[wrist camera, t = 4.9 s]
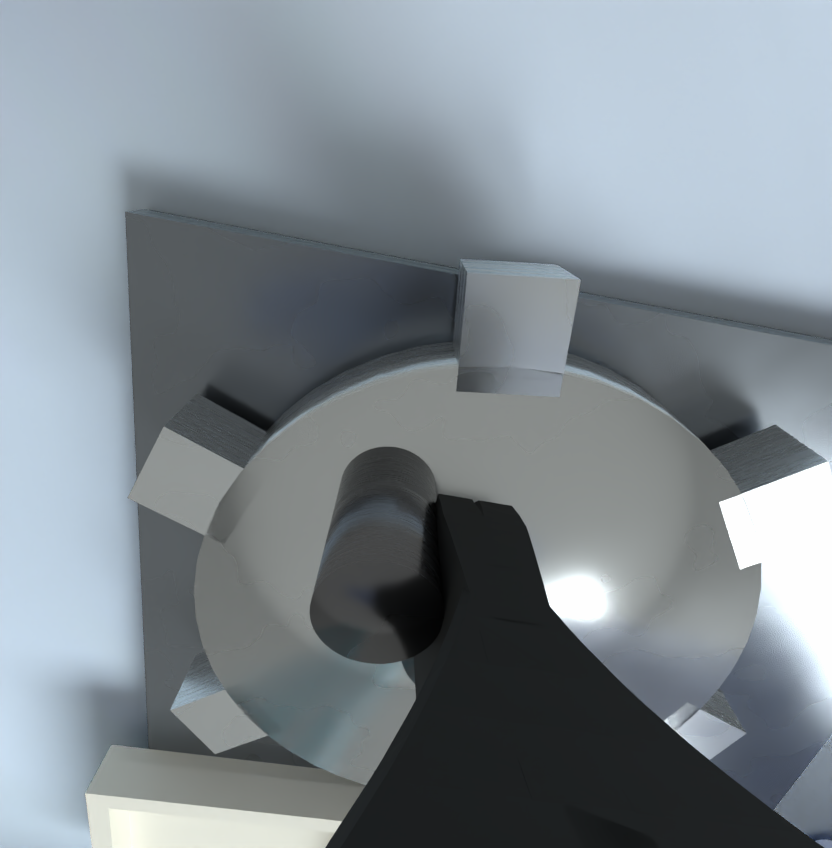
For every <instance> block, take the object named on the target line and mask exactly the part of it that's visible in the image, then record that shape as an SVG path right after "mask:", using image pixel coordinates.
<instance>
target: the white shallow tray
mask: <svg viewBox="0 0 832 848" xmlns="http://www.w3.org/2000/svg"><path fill="white" fill-rule="evenodd" d="M365 786H366V785H363V784H360V783H357V782H355V781H352V780H349V779H346V778H343V777H340V776H337V775H335V774H333V773H331V772H328V771H326V770H324V769H318V768H309V767H301V766H292V765H284V764H275V763H266V762H258V761H249V760H240V759H232V758H223V757H215V756H206V755H197V754H189V753H180V752H171V751H163V750H154V749H145V748H137V747H128V746H120V745H111V746H110V748H109V750H108V752H107V753H106V755H105V757H104V759H103V761H102V763H101V765H100V767H99V768H98V770H97V772H96V774H95V776H94V778H93V780H92V781H91V783H90V785H89V787H88V789H87V791H86V793H85V796H86V804H87V812H88V820H89V828H90V836H91V844H92V848H326V846H327V844H328V843H329V841H330V839H331V838H332V836H333V835H334V833H335V832H336V830H337V829H338V827H339V826H340V824H341V822H342V821H343V819H344V818H345V816H346V815H347V813H348V812H349V810H350V809H351V807H352V806H353V804H354V803H355V801H356V800H357V798H358V797H359V795H360V793H361V792H362V790H363V789H364V787H365Z"/></svg>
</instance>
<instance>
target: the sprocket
mask: <svg viewBox="0 0 832 848" xmlns="http://www.w3.org/2000/svg"><path fill="white" fill-rule="evenodd" d="M580 283H581V279H579V278H578V277H576V276H574V275H573V274H571V273H570V272H568V271H566V270H565V269H563V268H562V267H560V266H558V265H556V264H539V263H523V262H506V261H490V260H473V259H460V264H459V276H458V287H457V298H456V309H455V320H454V332H453V342H446V343H439V344H431V345H424V346H418V347H414V348H410V349H407V350H403V351H399V352H395V353H392V354H388V355H384V356H381V357H378V358H376V359H373V360H371V361H368V362H366V363H364V364H361V365H359V366H356V367H354V368H351V369H349V370H347V371H345V372H343V373H341V374H339V375H338V376H336V377H334V378H332V379H331V380H329V381H327V382H325V383H324V384H322V385H320V386H319V387H317V388H315V389H313V390H312V391H311V392H310V393H308V394H307V395H306V396H304V397H303V398H302V399H301V400H299V401H298V402H297V403H295V404H294V405H293V406H292V407H290V408H289V409H288V410H286V411H285V412H284V413H283V414H282V415H281V417H280V418H279V419H278V420H277V421H276V422H275V423H274V424H273V425H272V426H271V427H270V428H269V429H268V430H267V431H265V430H263V429H261V428H259V427H257V426H256V425H254V424H252V423H250V422H248V421H247V420H245V419H243V418H241V417H239V416H237V415H236V414H234V413H232V412H230V411H228V410H227V409H225V408H223V407H221V406H219V405H217V404H216V403H214V402H212V401H210V400H208V399H207V398H205V397H203V396H201V395H199V394H196V395H195V396H194V397H193V398H192V399H191V400H190V401H189V402H188V403H187V404H186V405H185V406H184V407H183V408H182V409H181V410H180V411H179V412H178V413H177V414H176V415H175V416H174V417H173V418H172V419H171V420H170V421H169V422H168V423H167V424H166V425H165V426H164V427H163V429H162V431H161V433H160V435H159V437H158V439H157V441H156V443H155V445H154V447H153V449H152V451H151V453H150V455H149V457H148V459H147V461H146V462H145V464H144V466H143V468H142V470H141V472H140V474H139V476H138V478H137V480H136V482H135V484H134V486H133V488H132V490H131V492H130V494H129V496H128V498H129V499H131V500H133V501H135V502H137V503H139V504H141V505H143V506H145V507H147V508H149V509H151V510H153V511H155V512H157V513H159V514H161V515H163V516H166V517H168V518H170V519H172V520H174V521H176V522H178V523H180V524H182V525H184V526H186V527H188V528H190V529H192V530H194V531H196V532H198V533H201V534H203V535H204V538H203V542H202V545H201V548H200V552H199V555H198V559H197V565H196V575H195V584H194V599H195V614H196V621H197V625H198V629H199V633H200V637H201V642H202V645H203V648H204V650H205V652H203V653H200V654H198V655H195V658H194V660H193V662H192V664H191V666H190V668H189V671H188V673H187V675H186V677H185V679H184V681H183V683H182V686H181V688H180V690H179V692H178V694H177V696H176V699H175V701H174V703H173V705H172V707H171V709H170V711H171V712H172V713H173V714H174V715H175V716H176V717H177V718H178V719H180V720H181V721H182V722H183V723H184V724H185V725H186V726H187V727H188V728H189V729H190V730H191V731H192V732H193V733H194V734H195V735H196V736H197V737H198V738H199V739H200V740H201V741H202V742H203V743H204V744H205V745H206V746H207V747H208V748H209V749H210V750H211V751H212V752H213V753H214V754H217V753H220V752H223V751H225V750H228V749H231V748H234V747H237V746H240V745H242V744H245V743H248V742H251V741H254V740H257V739H260V738H262V737H265V736H269V737H271V738H272V739H273V740H275V741H276V742H277V743H279V744H280V745H281V746H283V747H284V748H286V749H287V750H289V751H290V752H292V753H294V754H295V755H297V756H299V757H301V758H302V759H304V760H306V761H307V762H309V763H311V764H313V765H315V766H317V767H320V768H322V769H324V770H326V771H328V772H331V773H333V774H335V775H337V776H340V777H343V778H346V779H349V780H352V781H355V782H357V783H360V784H363V785H366V784H367V783H368V781H369V780H370V778H371V777H372V775H373V773H374V772H375V770H376V769H377V767H378V765H379V764H380V762H381V760H382V759H383V757H384V755H385V753H386V752H387V750H388V748H389V746H390V745H391V743H392V741H393V739H394V738H395V736H396V734H397V732H398V731H399V729H400V727H401V725H402V724H403V722H404V720H405V718H406V717H407V715H408V713H409V711H410V710H411V708H412V706H413V704H414V702H415V700H416V690H415V669H414V656H416V655H417V654H419V653H421V652H422V651H424V650H425V649H426V648H428V647H429V646H430V645H431V644H432V643H433V642H434V640H435V639H436V638H437V636H438V635H439V633H440V630H441V627H442V623H443V620H444V605H443V591H442V579H441V567H440V558H439V548H438V539H437V519H436V500H437V496H438V494H444V495H450V496H456V497H462V498H468V499H472V500H473V501H474V503H475V502H476V501H478V500H480V501H486V502H492V503H498V504H504V505H511V506H513V508H514V509H515V510H516V512H517V513H518V514H519V515H520V517H521V519H522V520H523V522H524V524H525V525H526V527H527V530H528V533H529V536H530V539H531V542H532V546H533V549H534V552H535V556H536V559H537V563H538V566H539V570H540V573H541V577H542V580H543V584H544V587H545V591H546V594H547V598H548V601H549V604H550V607H551V608H552V609H553V610H554V611H555V613H556V614H557V615H558V616H559V617H560V618H561V620H562V621H563V622H564V623H565V624H566V625H567V627H568V628H569V629H570V630H571V631H572V632H573V633H574V634H575V635H576V636H577V638H578V639H579V640H580V641H581V642H582V643H583V644H584V645H585V646H586V647H587V648H588V649H589V650H590V651H591V652H592V653H593V654H594V655H595V656H596V657H597V658H598V659H599V660H600V661H601V662H602V663H603V664H604V665H605V666H606V667H607V668H608V669H609V671H610V672H611V673H612V674H613V675H614V676H615V677H616V678H617V679H618V680H619V681H620V682H622V683H623V684H624V685H625V686H626V687H627V688H628V689H629V690H630V691H631V692H632V693H633V694H634V695H635V696H636V697H637V698H639V699H640V700H641V701H642V702H643V703H644V704H645V705H646V706H647V707H649V708H650V709H651V710H652V711H653V712H654V713H655V714H656V715H658V716H659V717H660V718H661V719H662V720H663V721H664V722H666V723H667V724H668V725H669V726H670V727H671V728H672V729H673V730H675V731H676V732H677V733H678V734H679V735H680V736H681V737H683V738H684V739H685V740H686V741H687V742H688V743H689V744H691V745H692V746H693V747H694V748H695V749H697V750H698V751H699V752H700V753H702V754H703V755H704V756H705V757H706V758H708V759H709V760H710V759H712V758H713V757H714V756H716V755H717V754H719V753H720V752H721V751H723V750H724V749H726V748H727V747H728V746H730V745H731V744H732V743H734V742H735V741H737V740H738V739H739V738H741V737H742V736H744V735H745V734H746V732H745V730H744V728H743V727H742V725H741V723H740V722H739V720H738V718H737V717H736V715H735V713H734V711H733V710H732V708H731V706H730V705H729V703H728V701H727V700H726V698H725V696H724V695H723V693H722V691H721V690H720V686H721V685H722V683H723V682H724V681H725V679H726V678H727V676H728V675H729V674H730V672H731V671H732V669H733V668H734V666H735V664H736V663H737V661H738V659H739V657H740V655H741V653H742V651H743V649H744V647H745V645H746V643H747V641H748V638H749V636H750V633H751V630H752V627H753V624H754V621H755V618H756V615H757V610H758V604H759V598H760V592H761V562H762V561H765V560H768V559H771V558H774V557H777V556H780V555H782V554H785V553H788V552H791V551H794V550H797V549H799V548H802V547H805V546H808V545H811V544H814V543H816V542H819V541H822V540H825V539H828V538H831V537H832V477H831V472H830V467H829V462H828V461H827V460H826V459H824V458H823V457H822V456H820V455H819V454H817V453H816V452H814V451H813V450H811V449H810V448H808V447H807V446H806V445H804V444H803V443H801V442H800V441H798V440H797V439H795V438H794V437H793V436H791V435H790V434H788V433H787V432H785V431H784V430H782V429H781V428H780V427H778V426H777V425H773V426H770V427H768V428H765V429H763V430H760V431H758V432H755V433H753V434H750V435H748V436H745V437H743V438H740V439H738V440H735V441H733V442H730V443H727V444H725V445H722V446H720V447H717V448H715V449H712V450H709V449H708V448H707V447H706V446H705V444H704V443H703V442H702V441H701V440H699V439H698V438H697V437H696V436H695V435H694V434H693V433H692V432H691V431H690V430H689V429H688V428H687V427H685V426H684V425H683V424H682V423H681V422H680V421H679V420H678V419H677V418H676V417H675V416H674V415H673V414H671V413H670V412H669V411H668V410H667V409H666V408H665V407H664V406H662V405H661V404H660V403H659V402H658V401H656V400H655V399H654V398H653V397H651V396H650V395H649V394H648V393H646V392H645V391H644V390H643V389H642V388H640V387H639V386H637V385H635V384H634V383H632V382H630V381H629V380H627V379H625V378H624V377H622V376H620V375H619V374H617V373H615V372H613V371H612V370H610V369H608V368H606V367H603V366H601V365H598V364H596V363H593V362H591V361H589V360H586V359H584V358H581V357H579V356H576V355H573V354H569V353H568V348H569V342H570V337H571V332H572V326H573V321H574V315H575V310H576V304H577V299H578V294H579V288H580Z"/></svg>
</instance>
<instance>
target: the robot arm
mask: <svg viewBox="0 0 832 848" xmlns="http://www.w3.org/2000/svg"><path fill="white" fill-rule="evenodd" d="M436 519H437V539H438V548H439V558H440V567H441V579H442V591H443V605H444V620H443V623H442V627H441V630H440V633H439V635H438V636H437V638H436V639H435V640H434V642H433V643H432V644H431V645H430V646H429V647H428V648H426V649H425V650H424V651H422V652H421V653H419V654H417V655H416V656H414V669H415V690H416V700H415V702H414V704H413V706H412V708H411V710H410V711H409V713H408V715H407V717H406V718H405V720H404V722H403V724H402V725H401V727H400V729H399V731H398V732H397V734H396V736H395V738H394V739H393V741H392V743H391V745H390V746H389V748H388V750H387V752H386V753H385V755H384V757H383V759H382V760H381V762H380V764H379V765H378V767H377V769H376V770H375V772H374V773H373V775H372V777H371V778H370V780H369V781H368V783H367V784H366V786H365V787H364V789H363V790H362V792H361V793H360V795H359V797H358V798H357V800H356V801H355V803H354V804H353V806H352V807H351V809H350V810H349V812H348V813H347V815H346V816H345V818H344V819H343V821H342V822H341V824H340V826H339V827H338V829H337V830H336V832H335V833H334V835H333V836H332V838H331V839H330V841H329V843H328V844H327V846H326V848H832V840H827V839H820V840H816V841H814V840H813V839H811V838H810V837H808V836H807V835H806V834H804V833H803V832H801V831H800V830H799V829H797V828H796V827H795V826H793V825H792V824H791V823H789V822H788V821H787V820H785V819H784V818H783V817H781V816H780V815H779V814H778V813H776V812H775V811H774V810H772V809H771V808H770V807H769V806H767V805H766V804H765V803H763V802H762V801H761V800H759V799H758V798H757V797H756V796H754V795H753V794H752V793H750V792H749V791H748V790H747V789H745V788H744V787H743V786H741V785H740V784H739V783H738V782H736V781H735V780H734V779H732V778H731V777H730V776H728V775H727V774H726V773H725V772H724V771H722V770H721V769H720V768H719V767H717V766H716V765H715V764H714V763H713V762H711V761H710V760H709V759H708V758H706V757H705V756H704V755H703V754H702V753H700V752H699V751H698V750H697V749H695V748H694V747H693V746H692V745H691V744H689V743H688V742H687V741H686V740H685V739H684V738H683V737H681V736H680V735H679V734H678V733H677V732H676V731H675V730H673V729H672V728H671V727H670V726H669V725H668V724H667V723H666V722H664V721H663V720H662V719H661V718H660V717H659V716H658V715H656V714H655V713H654V712H653V711H652V710H651V709H650V708H649V707H647V706H646V705H645V704H644V703H643V702H642V701H641V700H640V699H639V698H637V697H636V696H635V695H634V694H633V693H632V692H631V691H630V690H629V689H628V688H627V687H626V686H625V685H624V684H623V683H622V682H620V681H619V680H618V679H617V678H616V677H615V676H614V675H613V674H612V673H611V672H610V671H609V669H608V668H607V667H606V666H605V665H604V664H603V663H602V662H601V661H600V660H599V659H598V658H597V657H596V656H595V655H594V654H593V653H592V652H591V651H590V650H589V649H588V648H587V647H586V646H585V645H584V644H583V643H582V642H581V641H580V640H579V639H578V638H577V636H576V635H575V634H574V633H573V632H572V631H571V630H570V629H569V628H568V627H567V625H566V624H565V623H564V622H563V621H562V620H561V618H560V617H559V616H558V615H557V614H556V613H555V611H554V610H553V609H552V608H551V607H550V604H549V601H548V598H547V594H546V591H545V587H544V584H543V580H542V577H541V573H540V570H539V566H538V563H537V559H536V556H535V552H534V549H533V546H532V542H531V539H530V536H529V533H528V530H527V527H526V525H525V524H524V522H523V520H522V519H521V517H520V515H519V514H518V513H517V512H516V510H515V509H514V508H513V506H511V505H504V504H498V503H492V502H486V501H480V500H478V501H476V502H475V503H474V501H473V500H472V499H468V498H462V497H456V496H450V495H444V494H438V496H437V500H436Z"/></svg>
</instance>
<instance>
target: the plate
mask: <svg viewBox="0 0 832 848" xmlns="http://www.w3.org/2000/svg"><path fill="white" fill-rule="evenodd" d="M125 215H126V238H127V261H128V284H129V308H130V331H131V354H132V377H133V400H134V423H135V446H136V470H137V478H138V476H139V474H140V472H141V470H142V468H143V466H144V464H145V462H146V461H147V459H148V457H149V455H150V453H151V451H152V449H153V447H154V445H155V443H156V441H157V439H158V437H159V435H160V433H161V431H162V429H163V427H164V426H165V425H166V424H167V423H168V422H169V421H170V420H171V419H172V418H173V417H174V416H175V415H176V414H177V413H178V412H179V411H180V410H181V409H182V408H183V407H184V406H185V405H186V404H187V403H188V402H189V401H190V400H191V399H192V398H193V397H194V396H195V395H196V394H199V395H201V396H203V397H205V398H207V399H208V400H210V401H212V402H214V403H216V404H217V405H219V406H221V407H223V408H225V409H227V410H228V411H230V412H232V413H234V414H236V415H237V416H239V417H241V418H243V419H245V420H247V421H248V422H250V423H252V424H254V425H256V426H257V427H259V428H261V429H263V430H265V431H267V430H268V429H269V428H270V427H271V426H272V425H273V424H274V423H275V422H276V421H277V420H278V419H279V418H280V417H281V415H282V414H283V413H284V412H285V411H286V410H288V409H289V408H290V407H292V406H293V405H294V404H295V403H297V402H298V401H299V400H301V399H302V398H303V397H304V396H306V395H307V394H308V393H310V392H311V391H312V390H313V389H315V388H317V387H319V386H320V385H322V384H324V383H325V382H327V381H329V380H331V379H332V378H334V377H336V376H338V375H339V374H341V373H343V372H345V371H347V370H349V369H351V368H354V367H356V366H359V365H361V364H364V363H366V362H368V361H371V360H373V359H376V358H378V357H381V356H384V355H388V354H392V353H395V352H399V351H403V350H407V349H410V348H414V347H418V346H424V345H431V344H439V343H446V342H453V332H454V320H455V309H456V298H457V287H458V276H459V269H457V268H451V267H446V266H441V265H435V264H430V263H425V262H420V261H414V260H409V259H404V258H399V257H393V256H388V255H383V254H378V253H372V252H367V251H362V250H357V249H351V248H346V247H341V246H336V245H330V244H325V243H320V242H315V241H309V240H304V239H299V238H293V237H288V236H283V235H278V234H272V233H267V232H262V231H257V230H251V229H246V228H241V227H236V226H230V225H225V224H220V223H215V222H209V221H204V220H199V219H194V218H188V217H183V216H178V215H173V214H167V213H162V212H157V211H151V210H146V209H144V210H136V211H128V212H125ZM568 353H569V354H573V355H576V356H579V357H581V358H584V359H586V360H589V361H591V362H593V363H596V364H598V365H601V366H603V367H606V368H608V369H610V370H612V371H613V372H615V373H617V374H619V375H620V376H622V377H624V378H625V379H627V380H629V381H630V382H632V383H634V384H635V385H637V386H639V387H640V388H642V389H643V390H644V391H645V392H646V393H648V394H649V395H650V396H651V397H653V398H654V399H655V400H656V401H658V402H659V403H660V404H661V405H662V406H664V407H665V408H666V409H667V410H668V411H669V412H670V413H671V414H673V415H674V416H675V417H676V418H677V419H678V420H679V421H680V422H681V423H682V424H683V425H684V426H685V427H687V428H688V429H689V430H690V431H691V432H692V433H693V434H694V435H695V436H696V437H697V438H698V439H699V440H701V441H702V442H703V443H704V444H705V446H706V447H707V448H708V449H709V450H712V449H715V448H717V447H720V446H722V445H725V444H727V443H730V442H733V441H735V440H738V439H740V438H743V437H745V436H748V435H750V434H753V433H755V432H758V431H760V430H763V429H765V428H768V427H770V426H773V425H777V426H778V427H780V428H781V429H782V430H784V431H785V432H787V433H788V434H790V435H791V436H793V437H794V438H795V439H797V440H798V441H800V442H801V443H803V444H804V445H806V446H807V447H808V448H810V449H811V450H813V451H814V452H816V453H817V454H819V455H820V456H822V457H823V458H824V459H826V460H827V461H828V462H829V467H830V472H831V477H832V340H830V339H825V338H819V337H814V336H809V335H804V334H798V333H793V332H788V331H783V330H777V329H772V328H767V327H762V326H756V325H751V324H746V323H741V322H735V321H730V320H725V319H720V318H714V317H709V316H704V315H698V314H693V313H688V312H683V311H677V310H672V309H667V308H662V307H656V306H651V305H646V304H641V303H635V302H630V301H625V300H620V299H614V298H609V297H604V296H599V295H593V294H588V293H583V292H579V294H578V299H577V304H576V310H575V315H574V321H573V326H572V332H571V337H570V342H569V348H568ZM138 516H139V539H140V562H141V585H142V609H143V632H144V655H145V678H146V701H147V724H148V747H149V749H154V750H163V751H171V752H180V753H189V754H197V755H206V756H215V757H223V758H232V759H240V760H249V761H258V762H266V763H275V764H284V765H292V766H301V767H309V768H318V769H322V768H320V767H317V766H315V765H313V764H311V763H309V762H307V761H306V760H304V759H302V758H301V757H299V756H297V755H295V754H294V753H292V752H290V751H289V750H287V749H286V748H284V747H283V746H281V745H280V744H279V743H277V742H276V741H275V740H273V739H272V738H271V737H269V736H265V737H262V738H260V739H257V740H254V741H251V742H248V743H245V744H242V745H240V746H237V747H234V748H231V749H228V750H225V751H223V752H220V753H217V754H214V753H213V752H212V751H211V750H210V749H209V748H208V747H207V746H206V745H205V744H204V743H203V742H202V741H201V740H200V739H199V738H198V737H197V736H196V735H195V734H194V733H193V732H192V731H191V730H190V729H189V728H188V727H187V726H186V725H185V724H184V723H183V722H182V721H181V720H180V719H178V718H177V717H176V716H175V715H174V714H173V713H172V712H171V711H170V709H171V707H172V705H173V703H174V701H175V699H176V696H177V694H178V692H179V690H180V688H181V686H182V683H183V681H184V679H185V677H186V675H187V673H188V671H189V668H190V666H191V664H192V662H193V660H194V658H195V655H198V654H200V653H203V652H205V650H204V648H203V645H202V642H201V637H200V633H199V629H198V625H197V621H196V614H195V599H194V584H195V575H196V565H197V559H198V555H199V552H200V548H201V545H202V542H203V538H204V535H203V534H201V533H198V532H196V531H194V530H192V529H190V528H188V527H186V526H184V525H182V524H180V523H178V522H176V521H174V520H172V519H170V518H168V517H166V516H163V515H161V514H159V513H157V512H155V511H153V510H151V509H149V508H147V507H145V506H143V505H141V504H139V503H138ZM720 690H721V691H722V693H723V695H724V696H725V698H726V700H727V701H728V703H729V705H730V706H731V708H732V710H733V711H734V713H735V715H736V717H737V718H738V720H739V722H740V723H741V725H742V727H743V728H744V730H745V732H746V734H745V735H744V736H742V737H741V738H739V739H738V740H737V741H735V742H734V743H732V744H731V745H730V746H728V747H727V748H726V749H724V750H723V751H721V752H720V753H719V754H717V755H716V756H714V757H713V758H712V759H710V761H711V762H713V763H714V764H715V765H716V766H717V767H719V768H720V769H721V770H722V771H724V772H725V773H726V774H727V775H728V776H730V777H731V778H732V779H734V780H735V781H736V782H738V783H739V784H740V785H741V786H743V787H744V788H745V789H747V790H748V791H749V792H750V793H752V794H753V795H754V796H756V797H757V798H758V799H759V800H761V801H762V802H763V803H765V804H766V805H767V806H769V807H770V808H771V809H772V810H774V808H775V807H776V806H777V804H778V803H779V802H780V800H781V799H782V798H783V797H784V795H785V794H786V793H787V791H788V790H789V789H790V788H791V786H792V785H793V784H794V782H795V781H796V780H797V778H798V777H799V776H800V775H801V773H802V772H803V771H804V769H805V768H806V767H807V766H808V764H809V763H810V762H811V760H812V759H813V758H814V757H815V755H816V754H817V753H818V751H819V750H820V749H821V747H822V746H823V745H824V744H825V742H826V741H827V740H828V738H829V737H830V736H831V735H832V537H831V538H828V539H825V540H822V541H819V542H816V543H814V544H811V545H808V546H805V547H802V548H799V549H797V550H794V551H791V552H788V553H785V554H782V555H780V556H777V557H774V558H771V559H768V560H765V561H762V562H761V592H760V598H759V604H758V610H757V615H756V618H755V621H754V624H753V627H752V630H751V633H750V636H749V638H748V641H747V643H746V645H745V647H744V649H743V651H742V653H741V655H740V657H739V659H738V661H737V663H736V664H735V666H734V668H733V669H732V671H731V672H730V674H729V675H728V676H727V678H726V679H725V681H724V682H723V683H722V685H721V686H720Z"/></svg>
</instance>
